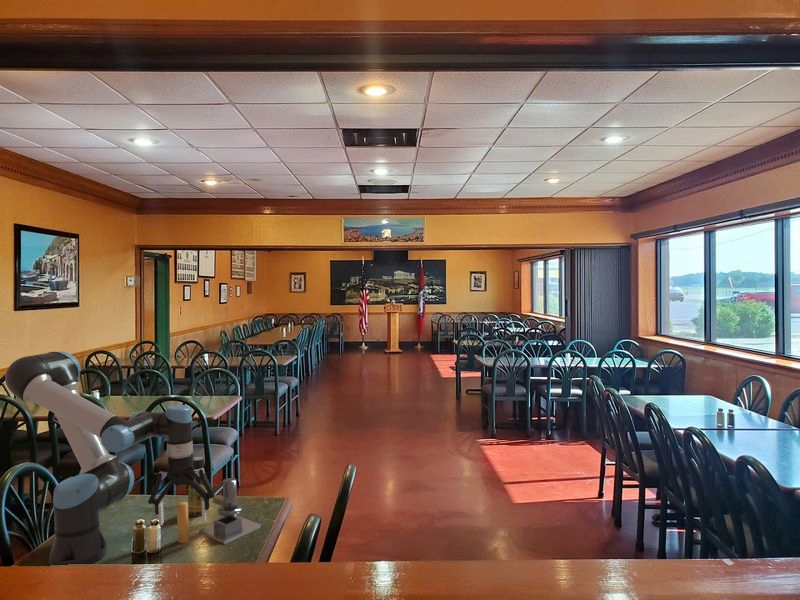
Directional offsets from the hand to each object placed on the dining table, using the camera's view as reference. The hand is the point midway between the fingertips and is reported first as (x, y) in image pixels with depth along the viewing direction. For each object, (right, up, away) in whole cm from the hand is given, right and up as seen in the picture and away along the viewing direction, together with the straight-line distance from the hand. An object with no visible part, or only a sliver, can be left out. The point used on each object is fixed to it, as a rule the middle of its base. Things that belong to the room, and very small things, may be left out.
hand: (183, 522), depth 174 cm
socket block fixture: (+11, -6, +8) cm, 15 cm away
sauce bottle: (-3, -6, +21) cm, 22 cm away
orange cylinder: (0, -6, 0) cm, 6 cm away
